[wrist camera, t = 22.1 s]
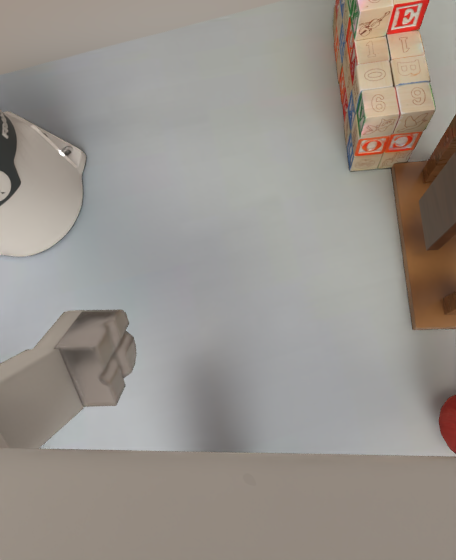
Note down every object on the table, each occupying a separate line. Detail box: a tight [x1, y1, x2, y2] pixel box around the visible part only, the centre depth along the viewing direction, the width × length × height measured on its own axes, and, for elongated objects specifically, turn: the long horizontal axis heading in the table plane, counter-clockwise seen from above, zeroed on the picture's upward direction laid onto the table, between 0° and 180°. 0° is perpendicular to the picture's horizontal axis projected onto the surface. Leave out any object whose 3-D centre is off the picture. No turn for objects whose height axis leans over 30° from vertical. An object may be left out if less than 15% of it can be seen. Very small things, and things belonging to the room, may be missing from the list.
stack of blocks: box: [333, 0, 436, 171], centre depth 40 cm, size 21×6×12 cm, turn 1°
